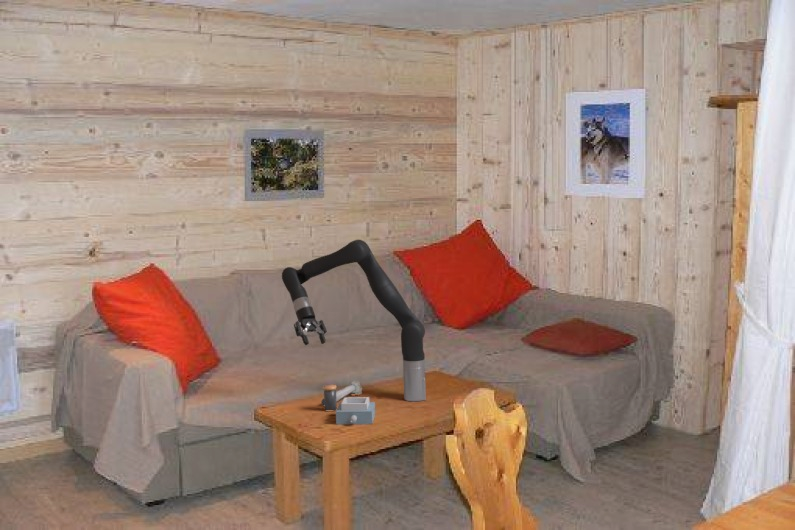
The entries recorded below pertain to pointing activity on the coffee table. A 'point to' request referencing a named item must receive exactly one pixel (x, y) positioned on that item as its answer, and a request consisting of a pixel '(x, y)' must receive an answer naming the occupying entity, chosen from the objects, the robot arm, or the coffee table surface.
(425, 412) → the coffee table surface
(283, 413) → the coffee table surface
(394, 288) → the robot arm
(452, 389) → the coffee table surface
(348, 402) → the blue knob tray
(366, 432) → the coffee table surface
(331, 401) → the dark grey lidded jar
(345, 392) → the grey flanged rod
